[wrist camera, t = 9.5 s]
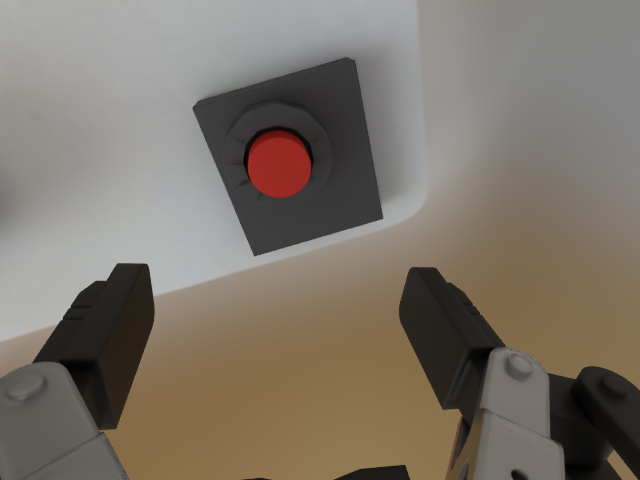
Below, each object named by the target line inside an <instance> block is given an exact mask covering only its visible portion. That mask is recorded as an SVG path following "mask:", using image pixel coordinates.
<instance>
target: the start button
mask: <svg viewBox="0 0 640 480" xmlns="http://www.w3.org/2000/svg"><path fill="white" fill-rule="evenodd" d="M248 172H249V176H250V179H251V181H252V183H253V184H254V185H255V187H256V188H257V189H258V190H259V191H261V192H262V193H264V194H266V195H268V196H271V197H277V198H282V197H288V196H291V195H294V194H296V193H297V192H299V191H300V190H301V189H302V188H303V187H304V186H305V185H306V183H307V182H308V180H309V177H310V174H311V161H310V158H309V155H308V152H307V150H306V148H305V146H304V144H303V142H302V141H301V140H300V139H299V138H298V137H297V136H295V135H294V134H292V133H290V132H287V131H283V130H273V131H269V132H266V133H264V134H262V135H261V136H259V137H258V138H257V139H256V140H255V142H254V143H253V145H252V146H251V149H250V152H249V160H248Z"/></svg>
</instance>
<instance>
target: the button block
mask: <svg viewBox="0 0 640 480" xmlns="http://www.w3.org/2000/svg"><path fill="white" fill-rule="evenodd" d="M193 111H194V113H195V116H196V118H197V120H198V123H199V125H200V128H201V130H202V132H203V135H204V137H205V140H206V142H207V144H208V147H209V149H210V152H211V154H212V156H213V159H214V161H215V163H216V166H217V168H218V171H219V173H220V175H221V178H222V180H223V183H224V185H225V187H226V190H227V192H228V195H229V197H230V199H231V202H232V204H233V206H234V209H235V211H236V214H237V216H238V218H239V221H240V223H241V226H242V228H243V230H244V233H245V235H246V238H247V240H248V242H249V245H250V247H251V249H252V252H253V254H254V256H257V255H261V254H264V253H268V252H271V251H275V250H278V249H281V248H285V247H288V246H292V245H295V244H298V243H302V242H305V241H309V240H312V239H316V238H319V237H322V236H326V235H329V234H333V233H336V232H339V231H343V230H346V229H350V228H353V227H357V226H360V225H363V224H367V223H370V222H374V221H377V220H380V219H383V214H382V209H381V203H380V198H379V192H378V186H377V181H376V175H375V170H374V164H373V158H372V153H371V147H370V142H369V136H368V131H367V125H366V119H365V114H364V108H363V103H362V97H361V91H360V86H359V80H358V75H357V69H356V63H355V60H352V59H350V58H343V59H340V60H336V61H333V62H330V63H326V64H323V65H319V66H316V67H313V68H309V69H306V70H302V71H299V72H296V73H292V74H289V75H285V76H282V77H279V78H275V79H272V80H268V81H265V82H262V83H258V84H255V85H251V86H248V87H245V88H241V89H238V90H234V91H231V92H228V93H224V94H221V95H217V96H214V97H210V98H207V99H204V100H200V101H198V102H197V103H196V104H195V105H194V107H193ZM273 130H283V131H287V132H290V133H292V134H294V135H295V136H297V137H298V138H299V139H300V140H301V141H302V142H303V144H304V146H305V148H306V150H307V152H308V155H309V158H310V161H311V174H310V177H309V180H308V182H307V183H306V185H305V186H304V187H303V188H302V189H301V190H300V191H299V192H297V193H296V194H294V195H291V196H288V197H282V198H277V197H271V196H268V195H266V194H264V193H262V192H261V191H259V190H258V189H257V188H256V187H255V185H254V184H253V183H252V181H251V179H250V176H249V172H248V160H249V152H250V149H251V146H252V145H253V143H254V142H255V140H256V139H257V138H258V137H259V136H261V135H262V134H264V133H266V132H269V131H273Z"/></svg>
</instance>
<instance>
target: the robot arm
mask: <svg viewBox="0 0 640 480" xmlns="http://www.w3.org/2000/svg"><path fill="white" fill-rule="evenodd" d="M154 311H155V309H154V300H153V292H152V285H151V278H150V271H149V267H148V265H147V264H135V263H118V264H117V265H116V266H115V268H114V269H113V271H112V273H111V274H110V276H109V278H108V279H107V281H95V282H94V283H92V284H91V285H90V286H88V287H87V288H85V289H84V290H83V291H81V292H80V293H79V294H78V296H77V297H76V299H75V300H74V302H73V303H72V305H71V308H70V309H68V311H67V312H66V314H65V315H64V317H63V320H61V321H60V322H59V324H58V325H57V327H56V328H55V330H54V331H53V333H52V334H51V336H50V337H49V339H48V340H47V342H46V343H45V345H44V346H43V348H42V349H41V350H40V352H39V353H38V355H37V356H36V358H35V359H34V361H33V362H32V364H29V365H26V366H23V367H20V368H18V369H16V370H14V371H11V372H10V373H8V374H6V375H5V376H3V377H2V378H0V480H129V477H128V475H127V474H126V472H125V470H124V468H123V466H122V464H121V462H120V461H119V459H118V456H117V455H116V453H115V451H114V449H113V447H112V445H111V443H110V441H109V439H108V438H107V436H106V435H105V433H104V432H102V433H100V431H99V430H109V429H116V428H117V425H118V422H119V419H120V417H121V414H122V411H123V408H124V405H125V403H126V400H127V396H128V394H129V391H130V389H131V386H132V383H133V380H134V377H135V374H136V372H137V369H138V366H139V363H140V361H141V358H142V355H143V352H144V349H145V346H146V343H147V341H148V338H149V335H150V332H151V329H152V327H153V322H154V313H155V312H154ZM399 317H400V322H401V324H402V326H403V328H404V330H405V333H406V334H407V337H408V339H409V341H410V343H411V345H412V347H413V349H414V351H415V353H416V355H417V357H418V359H419V361H420V363H421V366H422V368H423V370H424V372H425V374H426V376H427V378H428V380H429V382H430V384H431V386H432V388H433V390H434V392H435V394H436V397H437V399H438V401H439V403H440V405H441V407H442V409H443V410H446V409H459V410H460V412H461V414H462V416H461V419H460V421H459V423H458V428H457V432H456V436H455V440H454V445H453V449H452V453H451V457H450V462H449V466H448V470H447V474H446V478H445V480H622V479H621V478H620V477H619V475H618V474H617V473H616V471H615V470H614V469H613V467H612V466H611V465H610V463H609V462H608V461H607V458H608V456H609V455H610V454H611V453H612V452H613V450H615V451H616V452H617V453H618V455H619V456H620V457H621V458H622V460H623V461H624V462H625V463H626V465H627V466H628V467H629V469H630V470H631V471H632V472H633V473H634V475H635V476H636V477H637V479H638V480H640V391H639V389H638V388H637V387H635V386H634V385H633V384H632V383H631V382H629V381H628V380H627V379H625V378H623V377H622V376H620V375H618V374H616V373H614V372H612V371H610V370H607V369H604V368H601V367H594V366H590V367H585V368H584V369H582V371H581V372H580V374H579V375H578V377H577V378H576V379H572V378H567V377H563V376H558V375H554V374H549V373H547V372H546V370H545V369H544V368H543V366H542V365H541V364H540V363H539V362H538V361H537V360H535V359H534V358H533V357H531V356H530V355H528V354H526V353H524V352H522V351H520V350H517V349H514V348H508V347H506V346H505V344H504V343H503V342H502V341H501V339H500V338H499V337H498V335H497V334H496V333H495V332H494V330H493V329H492V328H491V326H490V325H489V324H488V323H487V321H486V320H485V319H484V317H483V316H482V315H480V312H479V311H478V310H477V308H476V307H475V306H473V304H472V302H471V301H470V300H469V298H468V297H467V296H466V294H465V293H464V292H463V291H461V290H460V289H459V288H457V287H456V286H454V285H453V284H452V283H447V282H446V281H445V279H444V278H443V277H442V275H441V274H440V272H439V271H438V270H437V269H436V268H433V267H431V268H430V267H413V268H411V269H410V270H409V272H408V275H407V279H406V283H405V286H404V290H403V294H402V297H401V301H400V305H399ZM244 480H270V479H264V478H255V479H244ZM334 480H410V478H409V475H408V472H407V469H406V466H405V465H399V466H387V467H377V468H366V469H359V470H357V471H354V472H352V473H349V474H347V475H344V476H342V477H339V478H337V479H334Z"/></svg>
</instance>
